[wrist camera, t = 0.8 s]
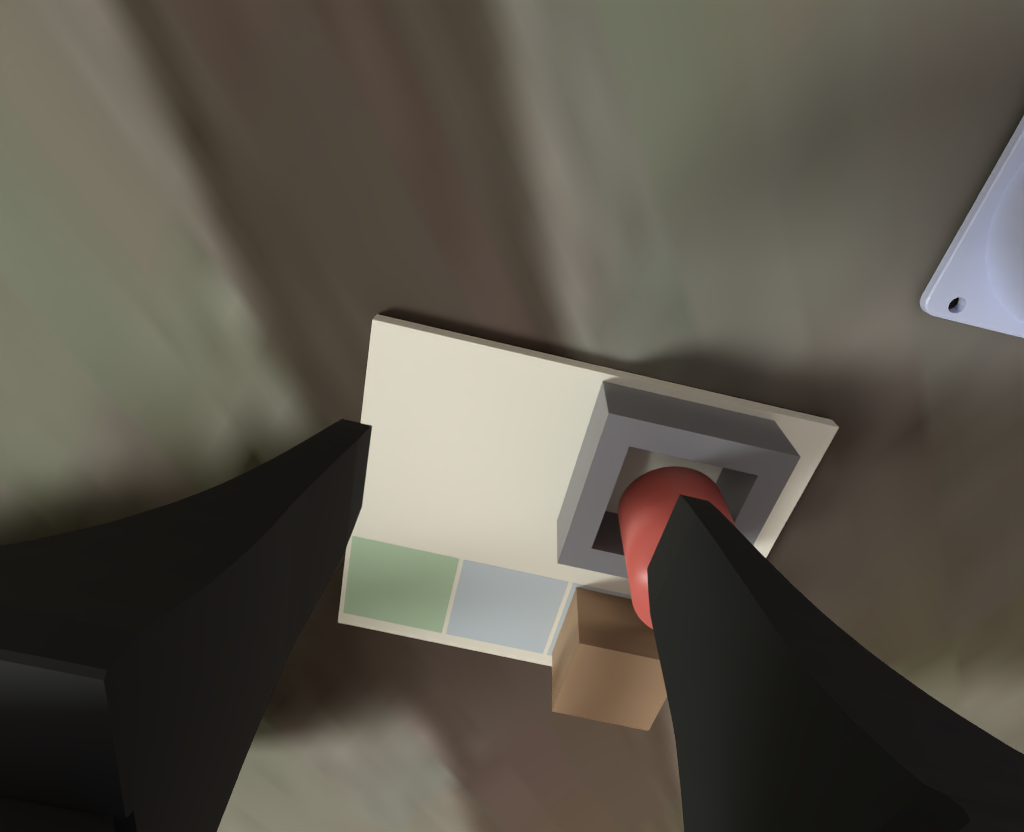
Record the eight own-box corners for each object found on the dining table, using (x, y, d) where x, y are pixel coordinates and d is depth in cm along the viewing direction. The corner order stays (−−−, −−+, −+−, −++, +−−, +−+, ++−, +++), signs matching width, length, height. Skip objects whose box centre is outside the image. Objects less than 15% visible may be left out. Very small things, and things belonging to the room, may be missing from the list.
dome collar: (774, 420, 21) (800, 457, 19) (708, 554, 24) (724, 599, 22) (602, 381, 21) (608, 413, 18) (556, 521, 24) (557, 563, 21)
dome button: (740, 479, 20) (781, 560, 16) (700, 559, 21) (730, 649, 18) (636, 456, 19) (655, 532, 16) (604, 538, 21) (615, 625, 18)
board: (832, 419, 22) (839, 427, 21) (686, 683, 28) (689, 694, 28) (377, 314, 21) (372, 319, 20) (341, 612, 28) (337, 622, 27)
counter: (669, 607, 25) (683, 664, 23) (639, 670, 27) (648, 730, 25) (576, 587, 25) (579, 643, 23) (552, 652, 27) (552, 711, 24)
